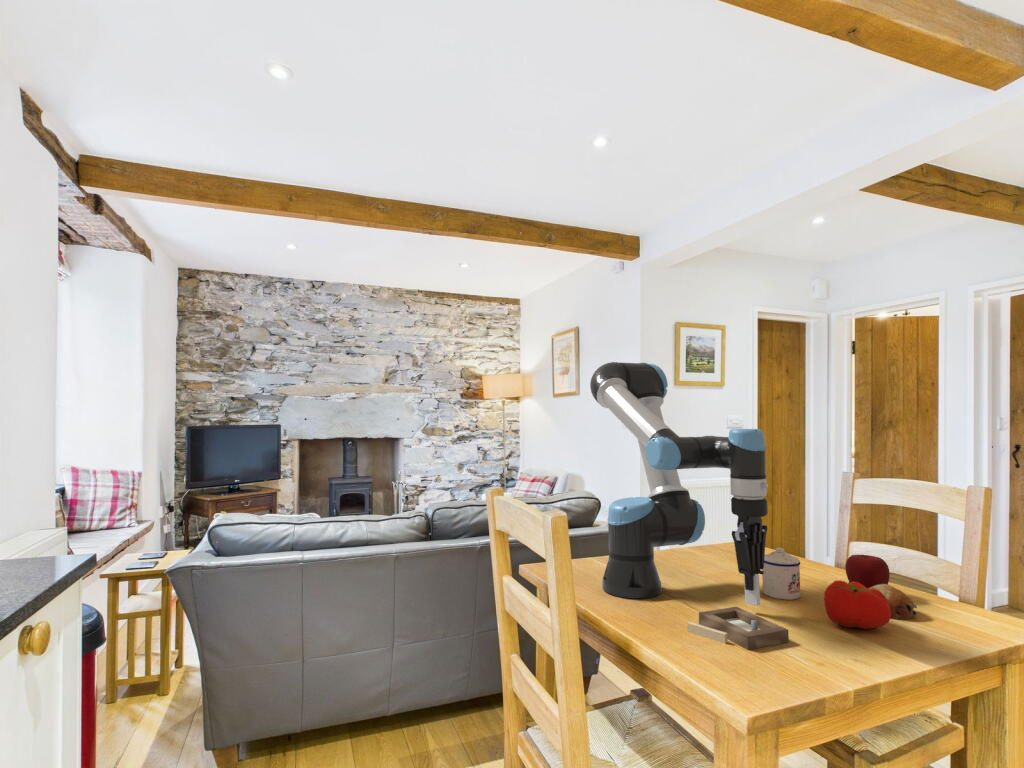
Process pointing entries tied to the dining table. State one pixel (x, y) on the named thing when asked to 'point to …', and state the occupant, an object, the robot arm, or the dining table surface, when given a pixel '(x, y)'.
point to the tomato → (856, 605)
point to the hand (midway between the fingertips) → (752, 603)
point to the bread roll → (897, 602)
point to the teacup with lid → (781, 575)
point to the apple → (867, 570)
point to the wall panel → (714, 631)
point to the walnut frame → (744, 627)
